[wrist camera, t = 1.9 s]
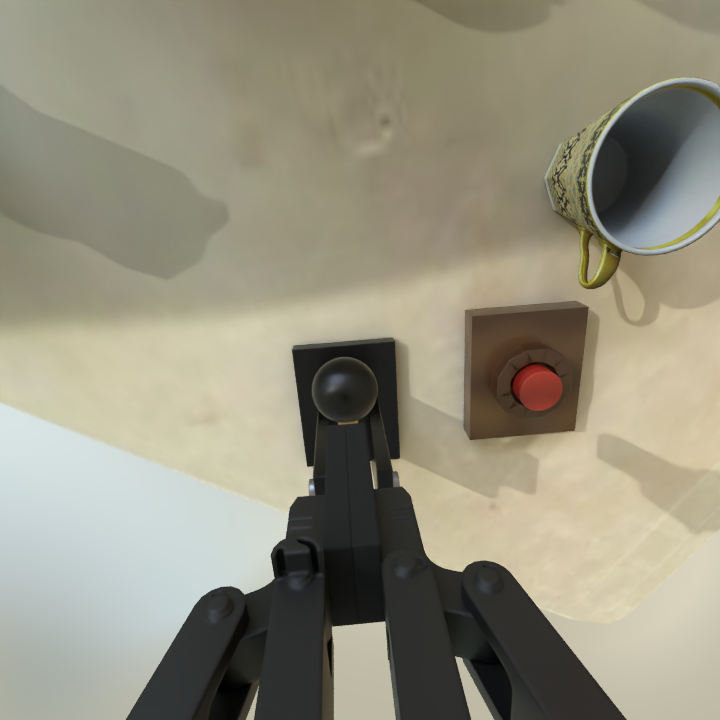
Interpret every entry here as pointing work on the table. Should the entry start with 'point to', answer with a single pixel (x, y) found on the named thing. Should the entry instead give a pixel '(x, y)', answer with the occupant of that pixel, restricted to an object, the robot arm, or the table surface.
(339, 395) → the switch lever
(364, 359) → the switch bracket
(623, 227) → the ceramic cup
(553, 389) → the button
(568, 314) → the button block
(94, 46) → the table surface
